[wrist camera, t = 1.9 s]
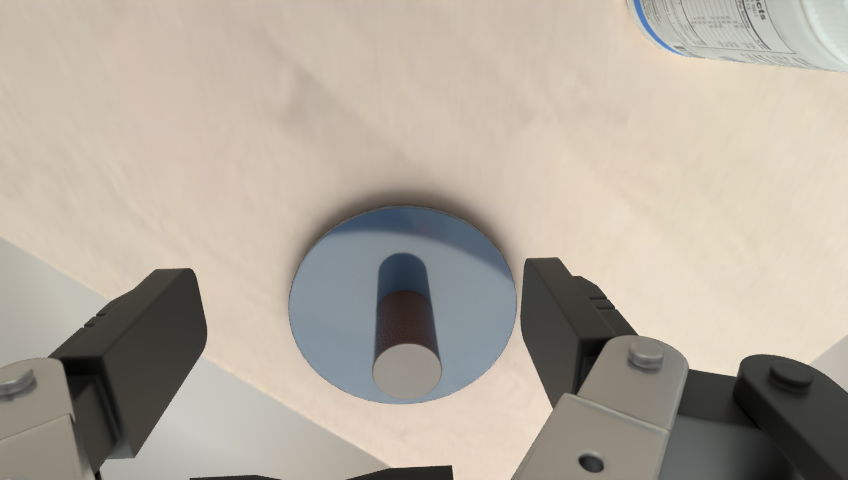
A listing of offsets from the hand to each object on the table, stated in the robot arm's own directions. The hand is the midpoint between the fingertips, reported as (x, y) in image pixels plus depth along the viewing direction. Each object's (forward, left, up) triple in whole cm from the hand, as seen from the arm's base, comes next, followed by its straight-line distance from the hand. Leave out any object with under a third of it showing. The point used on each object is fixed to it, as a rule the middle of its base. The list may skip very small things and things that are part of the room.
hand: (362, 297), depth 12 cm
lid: (+8, -9, -18) cm, 22 cm away
